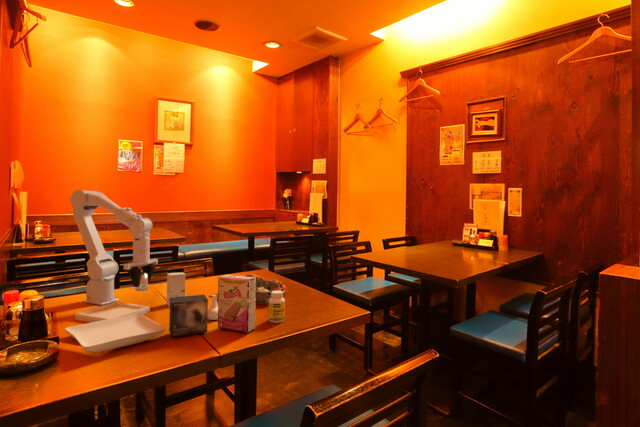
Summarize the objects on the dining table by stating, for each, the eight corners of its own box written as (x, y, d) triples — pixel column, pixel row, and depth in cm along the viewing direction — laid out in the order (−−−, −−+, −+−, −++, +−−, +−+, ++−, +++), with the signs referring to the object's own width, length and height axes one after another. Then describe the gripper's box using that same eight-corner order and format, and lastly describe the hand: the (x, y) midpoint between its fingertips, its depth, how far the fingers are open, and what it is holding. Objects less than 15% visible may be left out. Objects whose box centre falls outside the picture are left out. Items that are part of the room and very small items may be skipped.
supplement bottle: (272, 324, 122) (272, 294, 122) (266, 319, 127) (266, 290, 127) (287, 321, 125) (287, 292, 124) (280, 317, 129) (281, 289, 129)
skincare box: (168, 307, 139) (168, 275, 139) (166, 304, 143) (166, 273, 142) (185, 305, 142) (185, 273, 142) (182, 302, 146) (183, 271, 146)
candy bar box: (216, 328, 117) (217, 277, 116) (225, 324, 121) (226, 274, 121) (248, 333, 113) (248, 280, 113) (256, 328, 118) (256, 276, 117)
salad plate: (139, 322, 123) (139, 312, 123) (167, 339, 108) (167, 327, 108) (63, 338, 108) (63, 326, 108) (83, 361, 93) (83, 347, 93)
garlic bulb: (206, 315, 131) (206, 292, 130) (224, 315, 131) (224, 293, 130) (201, 321, 124) (201, 297, 124) (220, 321, 124) (220, 297, 124)
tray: (74, 319, 123) (74, 313, 123) (116, 306, 138) (116, 301, 138) (110, 325, 118) (110, 319, 118) (149, 311, 133) (149, 306, 133)
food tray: (303, 297, 159) (303, 272, 159) (279, 314, 135) (279, 285, 134) (231, 290, 169) (231, 267, 169) (196, 305, 145) (196, 278, 145)
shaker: (132, 290, 141) (132, 273, 140) (141, 288, 145) (141, 271, 144) (141, 291, 139) (141, 274, 139) (150, 289, 143) (150, 272, 143)
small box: (170, 338, 108) (171, 302, 108) (168, 331, 114) (168, 297, 114) (208, 332, 113) (208, 298, 113) (204, 326, 119) (204, 293, 119)
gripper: (134, 252, 133) (134, 290, 134) (163, 248, 147) (163, 282, 147) (119, 251, 136) (119, 288, 136) (149, 247, 149) (149, 280, 150)
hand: (141, 285), depth 142 cm, fingers closed on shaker, 4 cm apart
